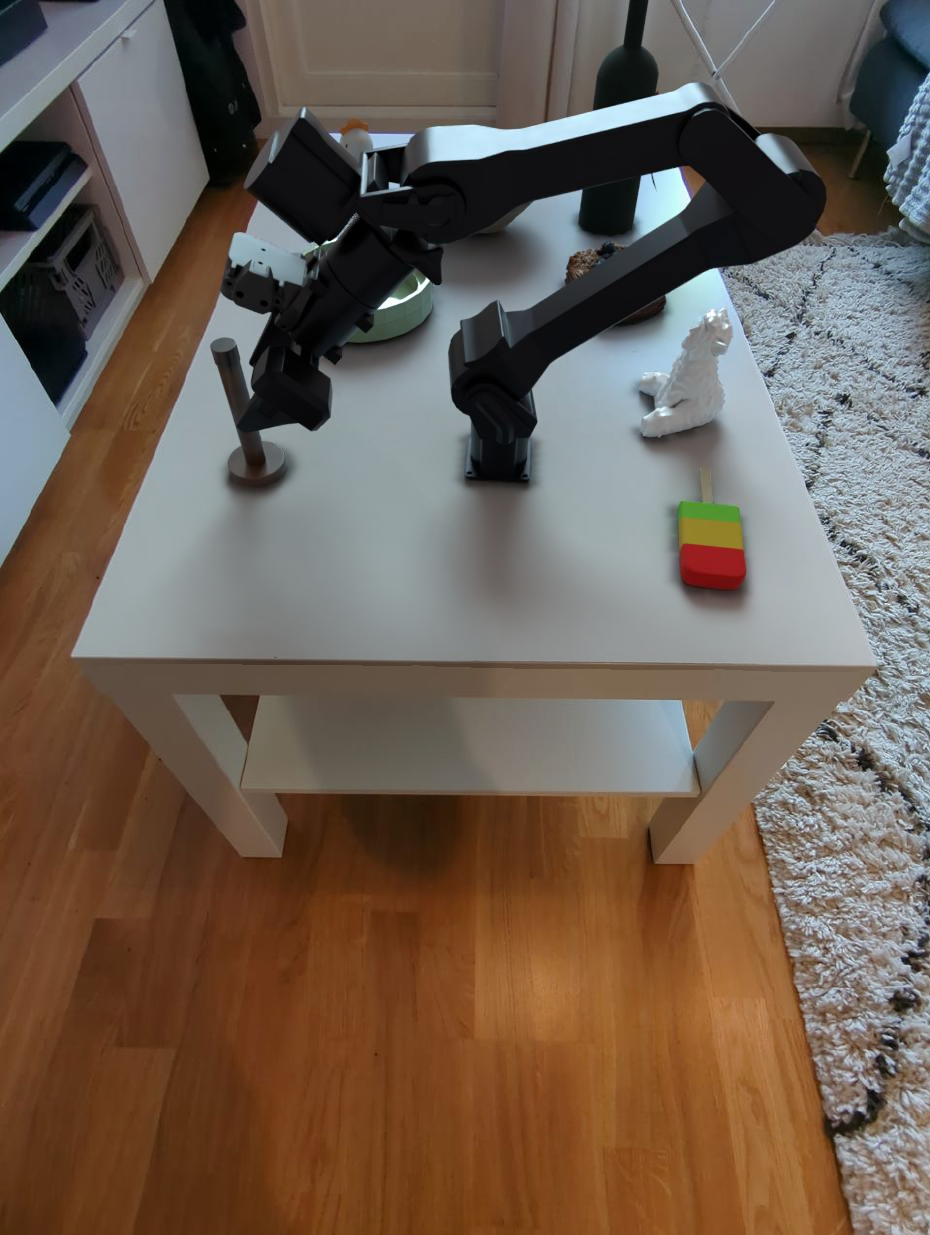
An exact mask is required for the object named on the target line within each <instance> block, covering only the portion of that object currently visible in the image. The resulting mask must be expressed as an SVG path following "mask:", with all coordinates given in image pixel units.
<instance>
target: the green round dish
mask: <svg viewBox="0 0 930 1235" xmlns="http://www.w3.org/2000/svg"><path fill="white" fill-rule="evenodd" d="M337 239H338V237H336V238H335V239H334V240H332V241H330V242H328V241H326V242H325V243H324V244H322V245H321V246H318V245H317V244H316V245H315V244H314V245H313V246H311V247H309V248H308V249H306V250H304V251H301V252H300V253H301V254H303V255H304V256H305V257H306V258H307V257H308V255H309V254H310V253H311V252H312V251H313V250H314V249H315V250H316V251H318V250H319V248H322V249H323V250H324V251H325V252H326V251H327V250H328V249H329V248H330V247H331V246H332V244H333V243H334V242H335V241H336V240H337ZM434 299H435V298H434V284H433V283H432V282H430V281H429V280H428V279H427V278H426V277H425V276H424V275H423V274H422V273H421V272H419V271H418V270H417V269H416V270H415V271H414V272H413V273H412V274H411V275H410V276H409V277H408V278H407V279H406V281H405V282H404V283H403V284H402V285H401V286H400V287H399V288H398V289H397V290H396V291H395V292H394V293H393V294H392V295H391V296H390V297H389V298H388V299H387V300H386V301H385V302H384V303H383V304H382V305H381V306H380V307H379V308H378V310H377V311H376V312H375V313H374V326H373V327H372V328H371V329H370V330H369V331H368V332H367V333H366V334H365V333H364V332H363V331H362V330H360V329H358V330H357V331H356V332H355V333H354V334H353V335H352V336H351V337H350V339H349V340H348V341H347V342H346V343H361V344H362V343H363V344H364V343H370V342H377V341H384V340H389V339H392V338H395V337H398V336H401V335H403V334H406V333H409V332H410V331H412V330H413V329H415V328H416V327H417V326H420V325H421V324H422V323H424V321H425V320H426V318H428V316H429V315H430V313H431V312H432V309H433V305H434V304H433V303H434Z"/></svg>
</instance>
